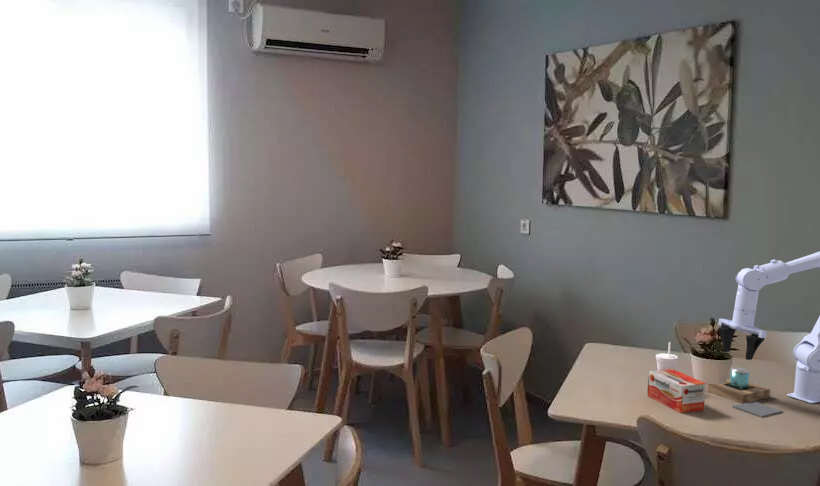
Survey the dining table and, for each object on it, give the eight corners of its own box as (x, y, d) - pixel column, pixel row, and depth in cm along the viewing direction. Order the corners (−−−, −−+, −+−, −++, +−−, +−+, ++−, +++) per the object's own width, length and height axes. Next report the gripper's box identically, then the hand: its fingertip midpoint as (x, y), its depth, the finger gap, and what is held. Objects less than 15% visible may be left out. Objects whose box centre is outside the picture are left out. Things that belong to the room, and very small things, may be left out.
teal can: (736, 390, 226) (738, 366, 225) (751, 395, 221) (753, 370, 220) (725, 393, 223) (727, 368, 222) (740, 398, 219) (741, 373, 218)
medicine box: (646, 397, 219) (648, 370, 218) (669, 394, 222) (671, 368, 221) (680, 414, 205) (682, 385, 204) (705, 411, 207) (707, 383, 206)
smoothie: (677, 391, 224) (680, 345, 222) (655, 389, 225) (657, 343, 224) (674, 384, 230) (677, 340, 229) (652, 383, 232) (655, 338, 230)
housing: (734, 385, 230) (734, 378, 230) (769, 397, 220) (770, 389, 220) (707, 391, 225) (708, 383, 224) (742, 403, 214) (743, 394, 214)
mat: (753, 402, 215) (753, 401, 215) (782, 412, 207) (782, 410, 207) (732, 407, 211) (732, 405, 211) (761, 417, 203) (761, 415, 203)
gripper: (714, 304, 222) (707, 348, 224) (758, 316, 210) (750, 363, 211) (730, 304, 226) (723, 348, 227) (774, 315, 213) (766, 362, 215)
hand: (737, 355), depth 220 cm, fingers open, 7 cm apart
